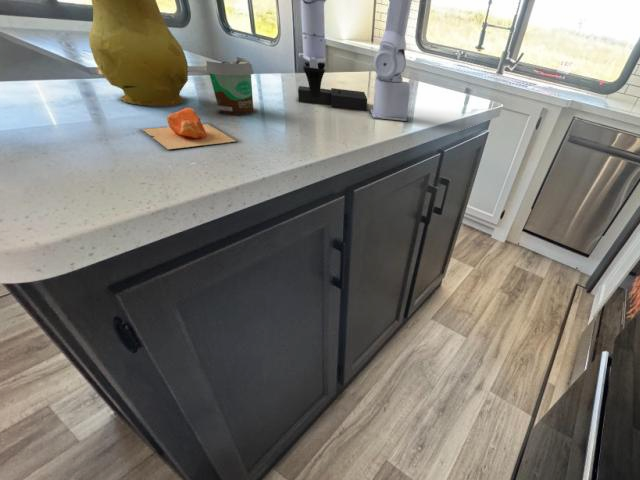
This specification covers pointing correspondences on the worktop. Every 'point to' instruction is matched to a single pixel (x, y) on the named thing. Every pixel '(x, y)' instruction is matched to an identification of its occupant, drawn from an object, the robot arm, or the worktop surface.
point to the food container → (232, 86)
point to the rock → (187, 131)
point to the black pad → (323, 98)
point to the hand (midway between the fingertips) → (315, 94)
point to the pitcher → (138, 52)
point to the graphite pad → (349, 99)
